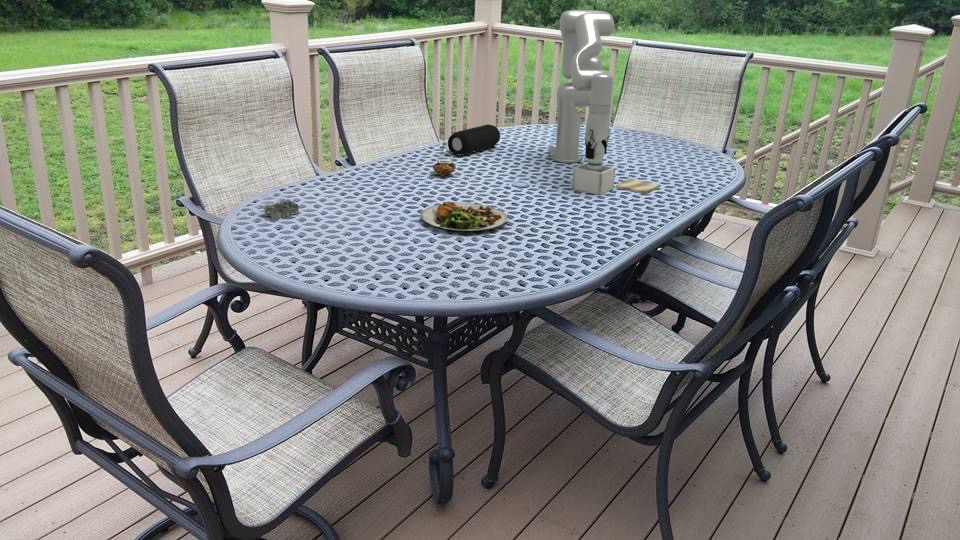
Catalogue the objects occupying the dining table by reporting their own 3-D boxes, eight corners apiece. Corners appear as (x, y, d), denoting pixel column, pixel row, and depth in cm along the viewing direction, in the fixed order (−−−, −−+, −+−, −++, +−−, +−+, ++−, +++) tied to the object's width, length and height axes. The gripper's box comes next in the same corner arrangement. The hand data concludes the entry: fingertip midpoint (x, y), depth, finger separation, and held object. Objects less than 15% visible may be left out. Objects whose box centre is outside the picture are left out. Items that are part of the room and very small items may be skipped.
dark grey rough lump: (274, 221, 251) (273, 209, 250) (261, 215, 256) (260, 203, 254) (302, 214, 258) (301, 202, 257) (289, 208, 263) (288, 196, 262)
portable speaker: (483, 144, 353) (484, 121, 349) (501, 148, 347) (502, 125, 344) (445, 154, 335) (446, 130, 331) (463, 158, 329) (464, 134, 325)
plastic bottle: (600, 186, 297) (605, 133, 290) (601, 191, 291) (606, 138, 283) (583, 185, 298) (588, 132, 290) (584, 190, 292) (588, 137, 284)
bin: (571, 188, 294) (573, 167, 290) (585, 182, 302) (587, 162, 298) (599, 195, 287) (601, 173, 284) (613, 188, 295) (615, 167, 292)
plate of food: (465, 243, 239) (466, 223, 237) (402, 219, 256) (403, 201, 254) (524, 224, 258) (526, 206, 256) (462, 204, 275) (463, 187, 273)
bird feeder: (428, 176, 303) (429, 97, 291) (438, 170, 310) (439, 93, 299) (449, 179, 300) (451, 99, 288) (459, 173, 307) (460, 95, 296)
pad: (615, 187, 296) (616, 185, 296) (630, 180, 305) (630, 178, 305) (645, 194, 290) (645, 191, 290) (659, 187, 299) (659, 184, 299)
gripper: (601, 104, 291) (598, 150, 298) (578, 110, 278) (574, 158, 285) (620, 107, 287) (616, 153, 294) (597, 113, 274) (593, 162, 281)
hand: (595, 156), depth 289 cm, fingers open, 9 cm apart
